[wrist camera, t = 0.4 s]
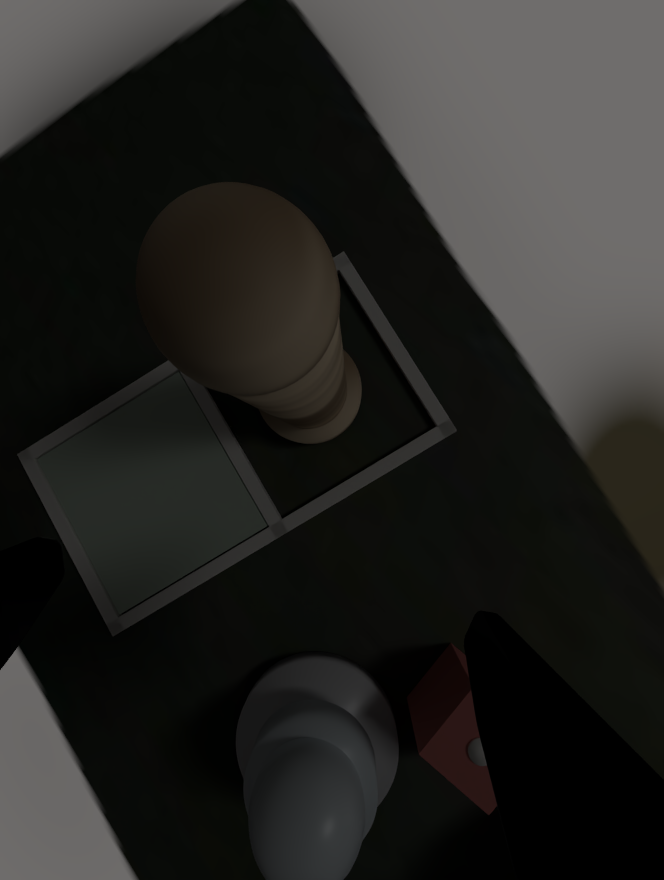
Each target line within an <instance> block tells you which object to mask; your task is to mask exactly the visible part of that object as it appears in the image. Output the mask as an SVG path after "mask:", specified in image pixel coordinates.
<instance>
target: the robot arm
mask: <svg viewBox="0 0 664 880" xmlns="http://www.w3.org/2000/svg"><path fill="white" fill-rule="evenodd" d="M64 572H65V566H64V559H63V551H62V544H61V543H60V541H58V540H56V539H50V538H44V537H36V538H33V539H30V540H28V541H25V542H23V543H20V544H18V545H15V546H13V547H10V548H7V549H5V550H2V551H0V670H1V668H2V667H3V666H4V664H5V663H6V662H7V661H8V659H9V658H10V657H11V655H12V654H13V652H14V651H15V650H16V648H17V647H18V646H19V644H20V643H21V641H22V640H23V638H24V637H25V635H26V634H27V632H28V631H29V629H30V628H31V626H32V625H33V623H34V622H35V620H36V619H37V617H38V616H39V614H40V613H41V611H42V610H43V608H44V607H45V605H46V604H47V602H48V601H49V599H50V598H51V596H52V595H53V593H54V592H55V590H56V589H57V587H58V586H59V584H60V583H61V581H62V579H63V576H64ZM464 649H465V655H466V661H467V668H468V674H469V680H470V686H471V693H472V699H473V705H474V712H475V717H476V722H477V727H478V732H479V736H480V740H481V744H482V748H483V752H484V756H485V760H486V764H487V768H488V771H489V775H490V779H491V783H492V787H493V791H494V795H495V799H496V803H497V807H498V811H499V814H500V818H501V822H502V826H503V830H504V834H505V838H506V842H507V846H508V850H509V854H510V858H511V861H512V865H513V869H514V873H515V877H516V880H664V780H663V779H662V778H661V777H660V776H659V775H658V774H657V773H656V772H655V771H654V770H653V769H652V768H651V767H650V766H649V765H648V764H647V763H646V762H645V761H644V760H643V759H642V758H641V757H640V756H639V755H638V754H637V753H636V752H635V751H634V750H633V749H632V748H631V747H630V746H629V745H628V744H627V743H626V742H625V741H624V740H623V739H622V738H621V737H620V736H619V735H618V734H617V733H616V732H615V731H614V730H613V729H612V728H611V727H610V726H609V725H608V724H607V723H606V722H605V721H604V720H603V719H602V718H601V717H600V716H599V715H598V714H597V713H596V712H595V711H594V710H593V709H592V708H591V707H590V706H589V705H588V704H587V703H586V702H585V701H584V700H583V699H582V698H581V697H580V696H579V695H578V694H577V693H576V692H575V691H574V690H573V689H572V688H571V687H570V686H569V685H568V684H567V683H566V682H565V681H564V680H563V679H562V678H561V677H560V676H559V675H558V674H557V673H556V672H555V671H554V670H553V669H552V668H551V667H550V666H549V665H548V664H547V663H546V662H545V661H544V660H543V659H542V658H541V657H540V656H539V655H538V654H537V653H536V652H535V651H534V650H533V649H532V648H531V647H530V646H529V645H528V644H527V643H526V642H525V641H524V640H523V639H522V638H521V637H520V636H519V635H518V634H517V633H516V632H515V631H514V630H513V629H512V628H511V627H510V626H509V625H508V624H507V623H506V622H505V621H504V620H503V619H502V618H501V617H500V616H499V615H498V614H496V613H492V612H486V611H478V612H477V613H476V614H475V616H474V618H473V620H472V622H471V624H470V627H469V629H468V631H467V633H466V635H465V639H464Z"/></svg>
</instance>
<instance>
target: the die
mask: <svg viewBox="0 0 664 880" xmlns="http://www.w3.org/2000/svg"><path fill="white" fill-rule="evenodd" d="M407 701H408V706H409V711H410V716H411V720H412V725H413V730H414V734H415V739H416V744H417V748H418V753H419V755H420V756H421V757H423V758H424V759H425V760H426V761H427V762H428V763H429V764H431V765H432V766H433V767H434V768H435V769H436V770H437V771H439V772H440V773H441V774H442V775H443V776H444V777H445V778H447V779H448V780H449V781H450V782H451V783H452V784H453V785H455V786H456V787H457V788H458V789H459V790H460V791H461V792H463V793H464V794H465V795H466V796H467V797H468V798H469V799H471V800H472V801H473V802H474V803H475V804H476V805H477V806H479V807H480V808H481V809H482V810H483V811H484V812H485V813H487V814H488V815H490V814H491V813H492V811H493V810H494V809H495V808H496V806H497V803H496V799H495V795H494V791H493V787H492V783H491V779H490V775H489V771H488V768H487V764H486V760H485V756H484V752H483V748H482V744H481V740H480V736H479V732H478V727H477V722H476V717H475V712H474V705H473V699H472V693H471V686H470V680H469V674H468V668H467V661H466V655H465V654H463V653H462V652H461V651H460V650H459V649H457V648H456V647H455V646H454V645H453V644H451V643H450V644H449V646H448V647H447V648H446V649H445V651H444V652H443V653H442V654H441V656H440V657H439V658H438V659H437V660H436V662H435V663H434V664H433V665H432V667H431V668H430V669H429V670H428V672H427V673H426V674H425V675H424V677H423V678H422V679H421V680H420V681H419V683H418V684H417V685H416V686H415V688H414V689H413V690H412V691H411V693H410V694H409V695H408V696H407Z"/></svg>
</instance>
